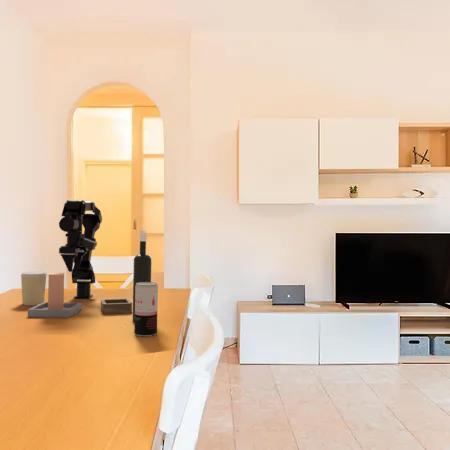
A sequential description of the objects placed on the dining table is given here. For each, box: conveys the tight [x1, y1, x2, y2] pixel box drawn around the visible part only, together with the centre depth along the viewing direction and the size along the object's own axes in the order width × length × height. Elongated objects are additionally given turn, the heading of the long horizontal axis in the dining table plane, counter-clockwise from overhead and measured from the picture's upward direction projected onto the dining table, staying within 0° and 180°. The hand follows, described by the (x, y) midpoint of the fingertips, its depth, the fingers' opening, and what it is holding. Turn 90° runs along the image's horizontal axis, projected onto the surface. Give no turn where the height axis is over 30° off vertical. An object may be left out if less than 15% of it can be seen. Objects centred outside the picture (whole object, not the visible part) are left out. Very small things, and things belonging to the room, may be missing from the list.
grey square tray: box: [27, 301, 83, 319], centre depth 161 cm, size 14×14×2 cm
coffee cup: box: [20, 271, 48, 306], centre depth 179 cm, size 9×9×12 cm
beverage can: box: [133, 281, 159, 337], centre depth 134 cm, size 7×7×15 cm
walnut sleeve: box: [100, 298, 133, 315], centre depth 167 cm, size 10×10×4 cm
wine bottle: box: [132, 230, 152, 324], centre depth 151 cm, size 6×6×30 cm
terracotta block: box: [47, 272, 65, 309], centre depth 161 cm, size 5×5×13 cm
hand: (74, 270), depth 181 cm, fingers open, 9 cm apart
